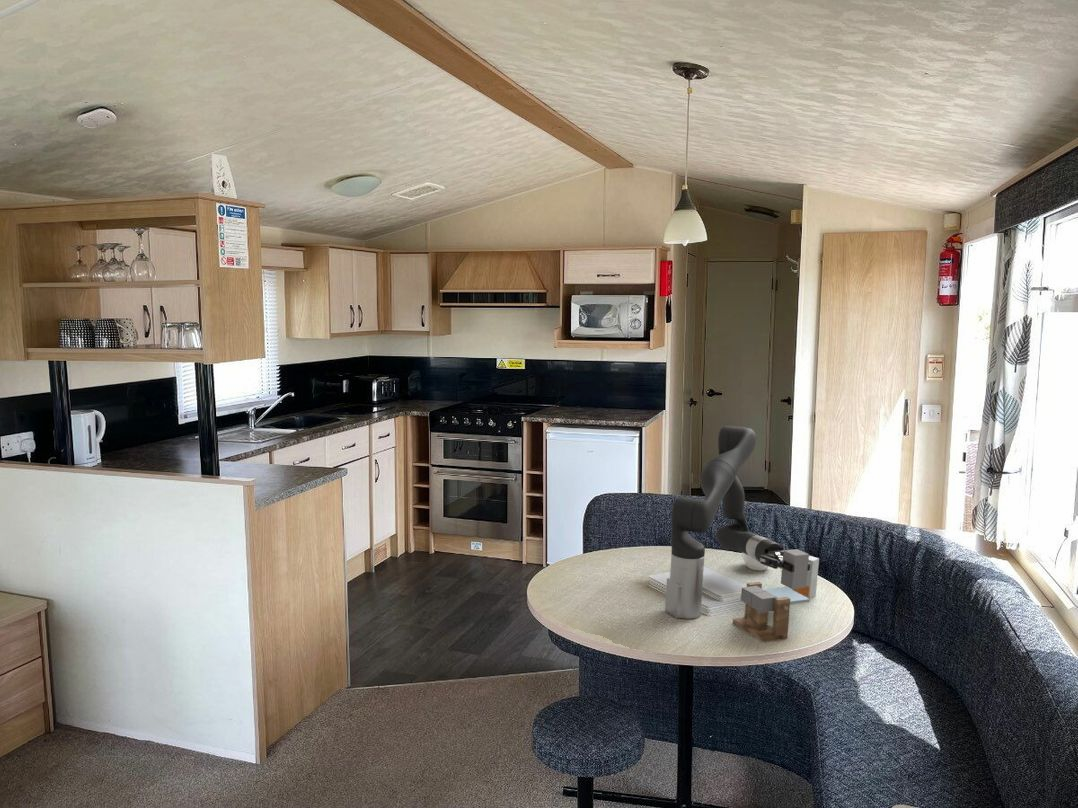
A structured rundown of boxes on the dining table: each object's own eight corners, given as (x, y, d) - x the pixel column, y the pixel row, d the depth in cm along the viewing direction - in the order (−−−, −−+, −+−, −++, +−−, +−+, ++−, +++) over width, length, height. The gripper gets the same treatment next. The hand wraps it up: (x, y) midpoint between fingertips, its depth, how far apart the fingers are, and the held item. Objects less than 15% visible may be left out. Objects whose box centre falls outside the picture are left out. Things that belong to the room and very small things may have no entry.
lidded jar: (774, 574, 269) (776, 546, 268) (741, 570, 271) (743, 543, 270) (772, 564, 279) (774, 537, 278) (739, 561, 281) (741, 534, 280)
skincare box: (791, 593, 251) (794, 555, 250) (798, 590, 254) (801, 553, 253) (809, 599, 247) (813, 560, 245) (816, 595, 250) (819, 558, 248)
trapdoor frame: (790, 640, 216) (793, 600, 214) (766, 643, 213) (769, 603, 211) (753, 618, 230) (756, 580, 229) (730, 621, 227) (732, 583, 226)
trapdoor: (809, 607, 220) (810, 593, 220) (762, 613, 215) (763, 599, 214) (784, 594, 230) (785, 581, 229) (739, 600, 224) (740, 586, 223)
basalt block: (791, 589, 235) (795, 555, 233) (780, 583, 239) (783, 550, 238) (805, 587, 237) (809, 554, 235) (794, 581, 241) (797, 549, 240)
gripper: (745, 540, 247) (782, 557, 232) (784, 537, 253) (822, 554, 237) (743, 564, 248) (779, 583, 232) (782, 560, 254) (819, 578, 238)
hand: (801, 568), depth 235 cm, fingers closed on basalt block, 5 cm apart
